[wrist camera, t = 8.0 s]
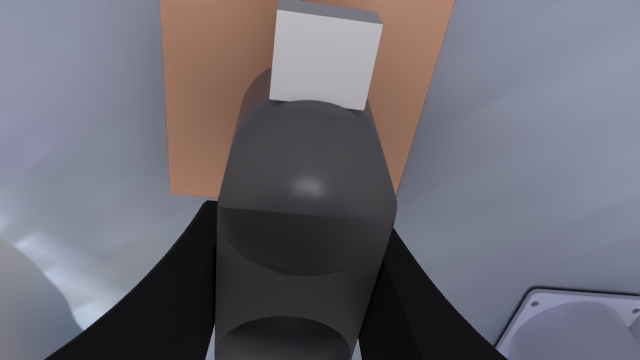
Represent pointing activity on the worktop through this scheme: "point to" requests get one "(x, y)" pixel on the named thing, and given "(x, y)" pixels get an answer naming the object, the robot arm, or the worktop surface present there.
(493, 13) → the worktop surface
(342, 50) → the charger plug
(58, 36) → the worktop surface
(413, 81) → the terracotta trivet
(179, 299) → the robot arm
